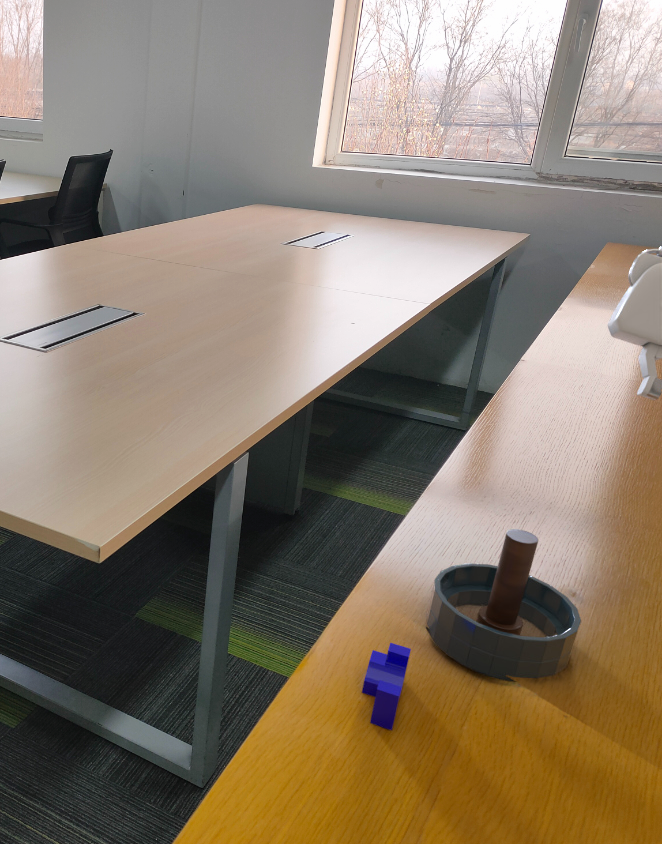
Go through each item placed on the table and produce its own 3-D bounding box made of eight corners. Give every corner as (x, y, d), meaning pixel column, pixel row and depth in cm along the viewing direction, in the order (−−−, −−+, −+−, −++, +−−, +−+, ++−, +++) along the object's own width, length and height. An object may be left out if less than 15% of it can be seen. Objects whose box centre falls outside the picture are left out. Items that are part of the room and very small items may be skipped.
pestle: (525, 643, 87) (554, 540, 82) (502, 657, 85) (531, 551, 80) (487, 622, 91) (514, 521, 86) (464, 635, 88) (490, 532, 83)
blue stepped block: (368, 669, 84) (375, 638, 82) (403, 680, 82) (410, 648, 81) (354, 717, 77) (360, 683, 75) (391, 730, 75) (399, 696, 74)
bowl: (591, 659, 86) (607, 612, 84) (518, 707, 79) (533, 657, 77) (472, 594, 97) (483, 551, 95) (398, 631, 90) (407, 585, 88)
